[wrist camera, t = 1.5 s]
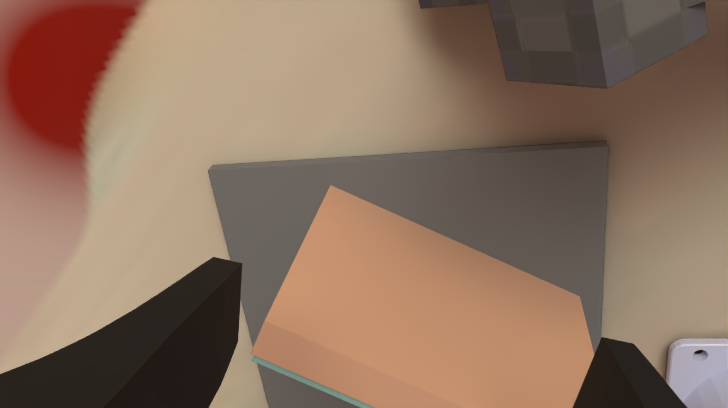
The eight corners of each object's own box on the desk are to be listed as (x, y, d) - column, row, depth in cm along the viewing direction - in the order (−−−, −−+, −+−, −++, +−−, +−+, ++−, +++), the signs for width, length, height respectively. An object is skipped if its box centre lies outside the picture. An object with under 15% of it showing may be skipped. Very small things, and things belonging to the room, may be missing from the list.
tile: (330, 185, 23) (264, 320, 16) (579, 296, 23) (624, 477, 16) (316, 218, 23) (247, 361, 16) (558, 325, 24) (592, 510, 17)
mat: (606, 140, 21) (609, 146, 20) (594, 447, 27) (596, 456, 26) (212, 165, 24) (207, 170, 23) (281, 438, 30) (278, 446, 29)
